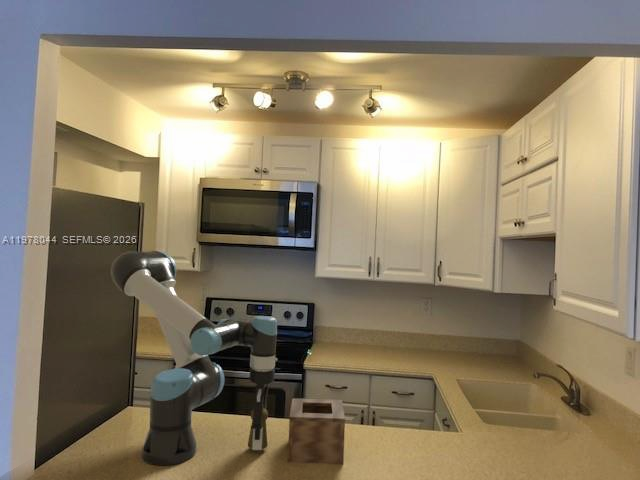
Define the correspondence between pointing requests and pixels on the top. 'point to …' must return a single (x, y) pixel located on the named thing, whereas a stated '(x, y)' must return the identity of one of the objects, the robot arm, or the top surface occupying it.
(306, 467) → the top surface
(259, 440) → the robot arm
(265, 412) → the cork
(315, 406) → the walnut box
